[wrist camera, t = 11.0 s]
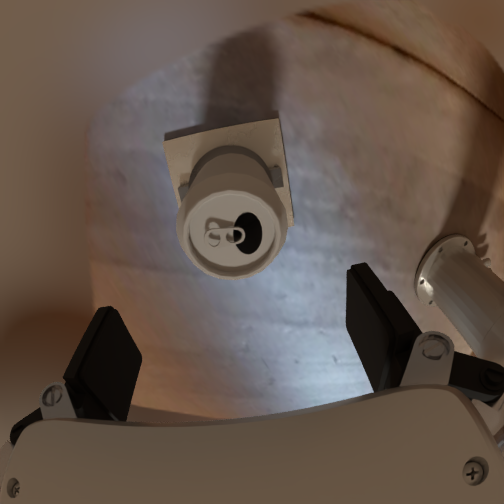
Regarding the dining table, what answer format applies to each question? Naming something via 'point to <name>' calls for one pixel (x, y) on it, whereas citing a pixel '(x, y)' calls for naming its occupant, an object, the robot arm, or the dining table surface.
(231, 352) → the dining table surface
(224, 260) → the can
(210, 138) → the white flat square plate
